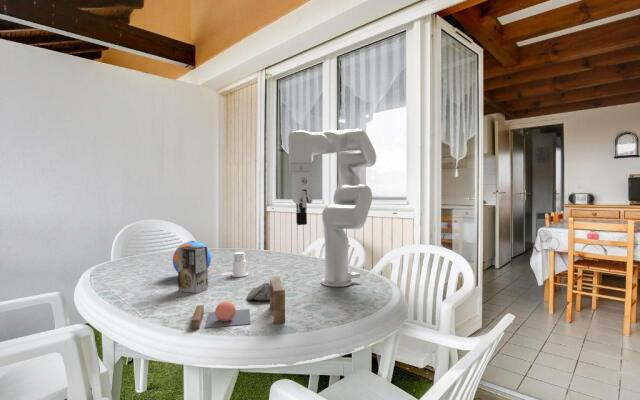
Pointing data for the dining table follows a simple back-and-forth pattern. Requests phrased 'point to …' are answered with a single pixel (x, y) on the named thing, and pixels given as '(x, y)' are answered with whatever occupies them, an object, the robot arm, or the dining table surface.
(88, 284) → the dining table surface
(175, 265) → the treat dispenser ball
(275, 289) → the bridge
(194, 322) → the strip
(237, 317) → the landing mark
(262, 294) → the fossilized seashell
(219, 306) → the ball
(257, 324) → the dining table surface
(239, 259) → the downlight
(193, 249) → the coffee box
